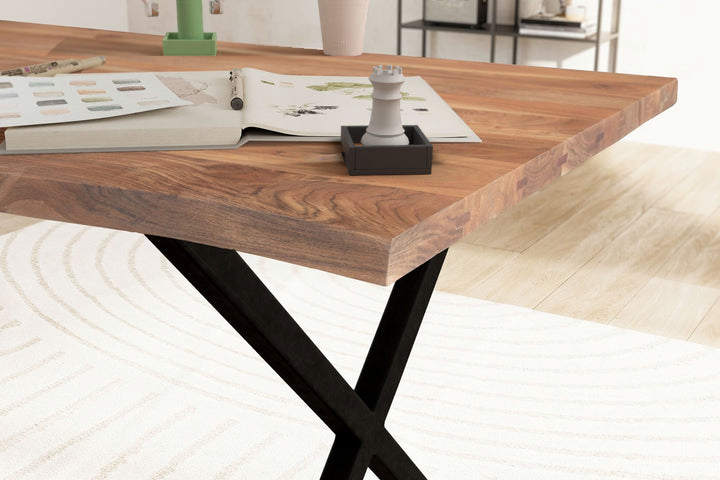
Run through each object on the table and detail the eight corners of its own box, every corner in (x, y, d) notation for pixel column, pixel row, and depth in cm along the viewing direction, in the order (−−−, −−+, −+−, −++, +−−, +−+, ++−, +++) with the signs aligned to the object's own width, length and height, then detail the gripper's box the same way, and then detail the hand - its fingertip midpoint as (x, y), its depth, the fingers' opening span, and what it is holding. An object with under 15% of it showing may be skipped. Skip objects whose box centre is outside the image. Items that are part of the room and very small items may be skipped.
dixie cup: (366, 59, 126) (368, -13, 122) (309, 56, 127) (309, -16, 123) (374, 49, 133) (376, -19, 130) (320, 47, 135) (320, -22, 131)
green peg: (183, 53, 125) (180, -6, 122) (175, 48, 128) (172, -9, 125) (207, 51, 126) (205, -7, 123) (199, 47, 129) (196, -10, 126)
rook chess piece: (372, 166, 76) (375, 74, 73) (351, 152, 80) (353, 64, 77) (417, 161, 78) (422, 71, 75) (395, 148, 82) (399, 61, 79)
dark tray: (349, 175, 76) (349, 147, 75) (340, 151, 82) (340, 125, 81) (431, 174, 76) (433, 146, 76) (416, 150, 83) (417, 124, 82)
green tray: (163, 58, 123) (162, 40, 122) (167, 49, 130) (166, 32, 129) (215, 58, 124) (214, 40, 123) (217, 49, 131) (216, 32, 130)
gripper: (243, -89, 127) (244, 10, 132) (99, -93, 117) (106, 14, 122) (260, -88, 122) (261, 15, 127) (111, -91, 112) (119, 20, 117)
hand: (184, 15), depth 124 cm, fingers open, 8 cm apart
